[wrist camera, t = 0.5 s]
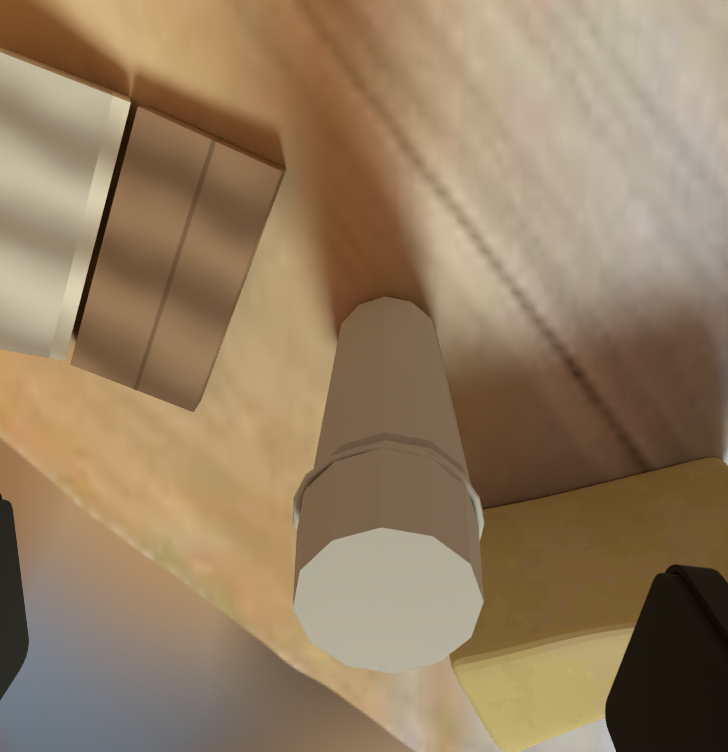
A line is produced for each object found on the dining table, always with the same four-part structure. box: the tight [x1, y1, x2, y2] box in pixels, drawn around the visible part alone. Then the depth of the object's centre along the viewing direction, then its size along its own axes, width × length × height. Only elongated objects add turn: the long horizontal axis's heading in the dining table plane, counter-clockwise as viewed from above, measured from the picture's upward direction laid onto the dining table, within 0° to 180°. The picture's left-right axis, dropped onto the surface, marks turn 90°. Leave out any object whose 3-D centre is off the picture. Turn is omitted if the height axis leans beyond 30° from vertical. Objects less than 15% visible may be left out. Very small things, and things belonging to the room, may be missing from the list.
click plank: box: [0, 46, 131, 361], centre depth 38 cm, size 18×10×2 cm, turn 156°
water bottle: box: [293, 296, 484, 673], centre depth 33 cm, size 9×8×25 cm
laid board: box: [71, 106, 286, 412], centre depth 41 cm, size 18×9×2 cm, turn 156°
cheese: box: [450, 457, 728, 752], centre depth 42 cm, size 22×10×15 cm, turn 116°
